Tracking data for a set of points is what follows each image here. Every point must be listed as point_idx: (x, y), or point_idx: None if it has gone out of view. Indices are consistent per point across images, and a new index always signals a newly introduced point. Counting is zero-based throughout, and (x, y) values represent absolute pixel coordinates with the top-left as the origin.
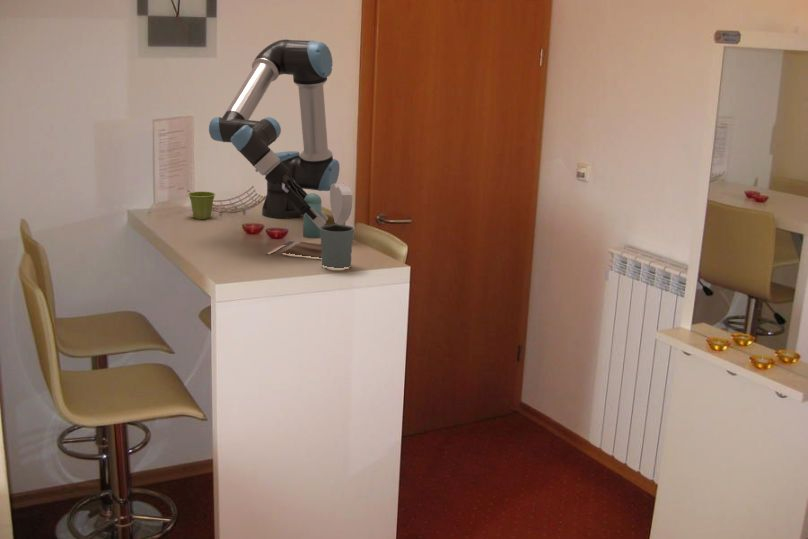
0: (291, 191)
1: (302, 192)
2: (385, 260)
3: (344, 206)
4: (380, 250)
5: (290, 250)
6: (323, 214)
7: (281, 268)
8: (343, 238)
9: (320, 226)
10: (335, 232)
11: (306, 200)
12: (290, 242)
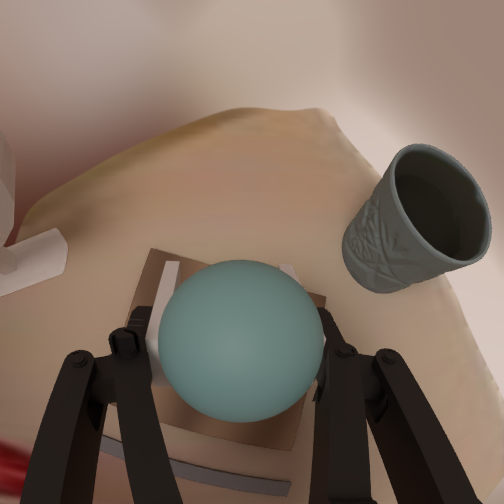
0: (467, 494)
1: (147, 462)
2: (270, 132)
3: (10, 182)
4: (159, 142)
5: (250, 429)
6: (175, 281)
7: (427, 398)
8: (459, 192)
9: None
10: (486, 207)
11: (306, 389)
12: (105, 440)
